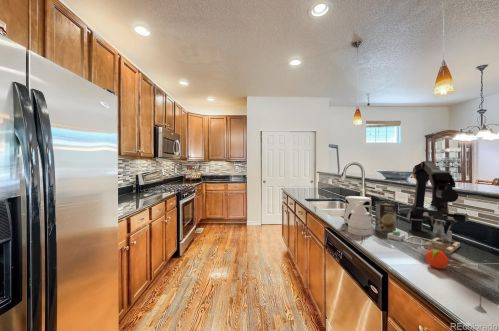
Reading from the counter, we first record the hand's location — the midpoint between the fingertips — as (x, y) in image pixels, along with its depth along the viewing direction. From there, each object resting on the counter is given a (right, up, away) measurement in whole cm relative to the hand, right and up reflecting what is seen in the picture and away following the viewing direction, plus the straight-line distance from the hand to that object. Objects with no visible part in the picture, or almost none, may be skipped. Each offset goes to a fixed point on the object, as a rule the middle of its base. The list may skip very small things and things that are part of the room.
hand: (439, 232), depth 105 cm
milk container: (-17, -8, +43) cm, 47 cm away
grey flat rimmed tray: (-2, -9, +11) cm, 14 cm away
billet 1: (0, -2, 0) cm, 2 cm away
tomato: (-16, -9, -17) cm, 25 cm away
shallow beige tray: (+4, -9, +3) cm, 10 cm away
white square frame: (-10, -8, +15) cm, 20 cm away
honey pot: (-23, -8, +28) cm, 37 cm away
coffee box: (-6, -9, +31) cm, 33 cm away
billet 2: (+7, -8, +5) cm, 12 cm away
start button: (-10, -6, +15) cm, 19 cm away
